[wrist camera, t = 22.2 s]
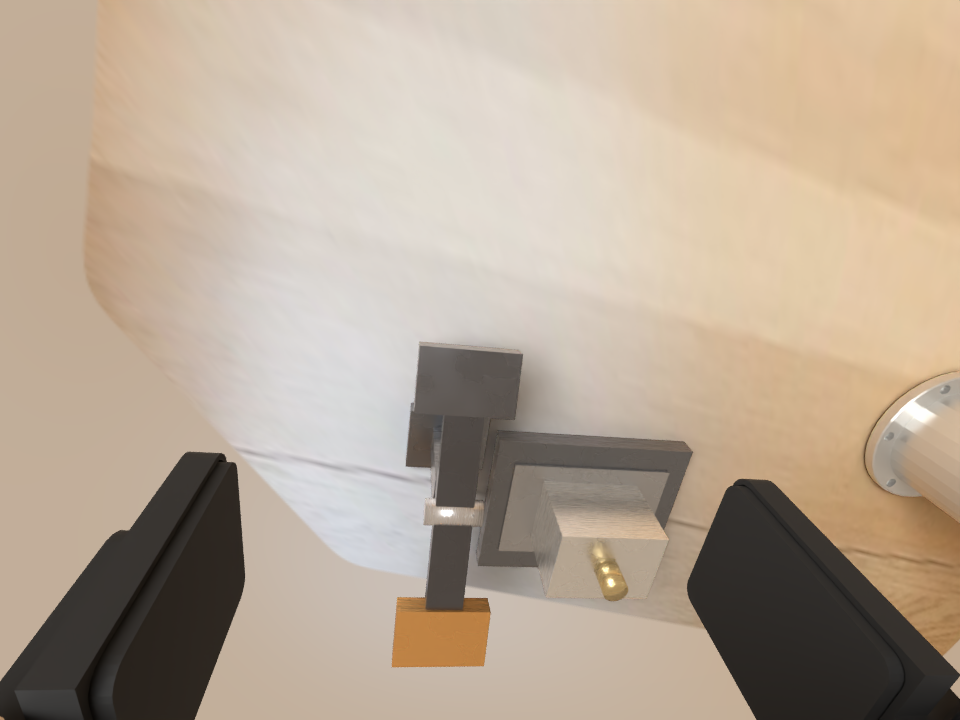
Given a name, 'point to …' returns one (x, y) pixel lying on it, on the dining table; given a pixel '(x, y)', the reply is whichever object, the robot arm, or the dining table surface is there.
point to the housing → (596, 541)
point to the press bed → (550, 477)
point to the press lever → (454, 501)
